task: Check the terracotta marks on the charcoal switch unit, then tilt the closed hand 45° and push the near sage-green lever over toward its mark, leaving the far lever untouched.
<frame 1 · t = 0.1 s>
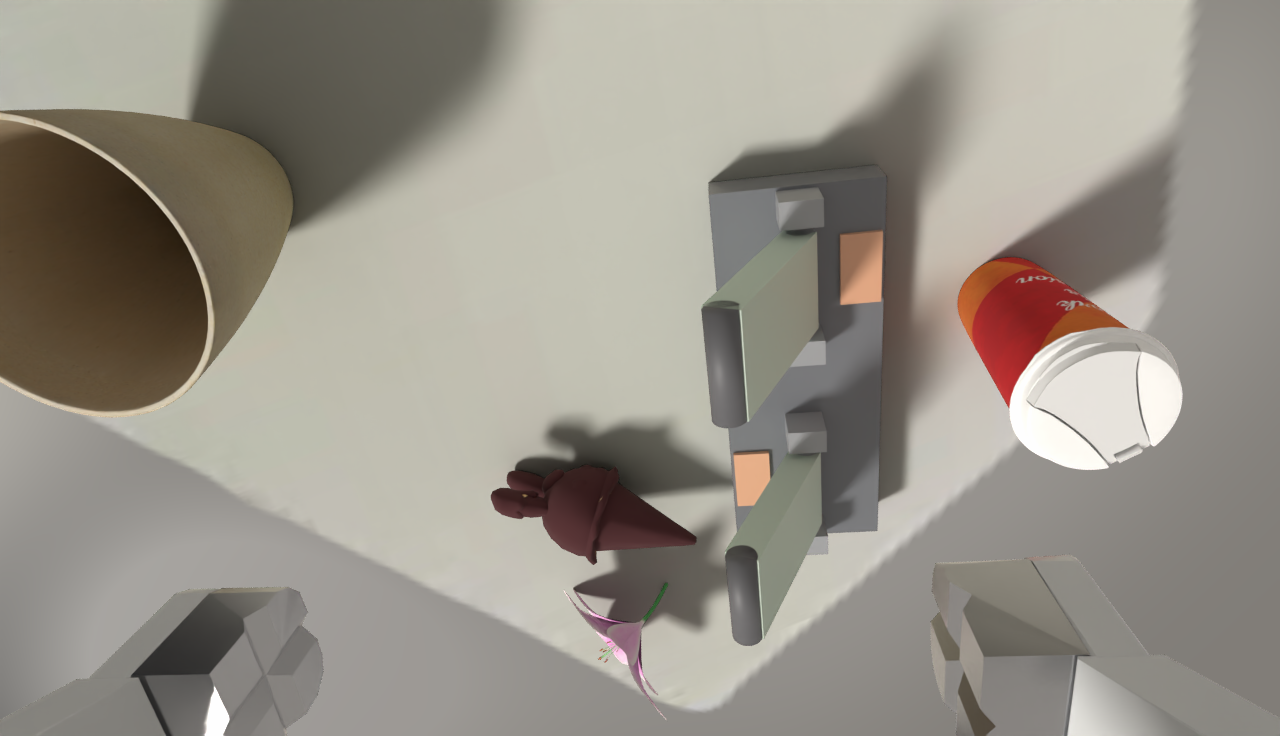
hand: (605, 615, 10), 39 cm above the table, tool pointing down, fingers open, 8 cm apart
lily: (623, 597, 63), on the table
switch unit: (797, 361, 51), on the table
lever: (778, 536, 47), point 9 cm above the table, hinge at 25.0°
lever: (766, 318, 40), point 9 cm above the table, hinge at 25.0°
paper cup: (1000, 295, 48), on the table
icecream: (601, 483, 57), on the table
plant pot: (243, 189, 48), on the table
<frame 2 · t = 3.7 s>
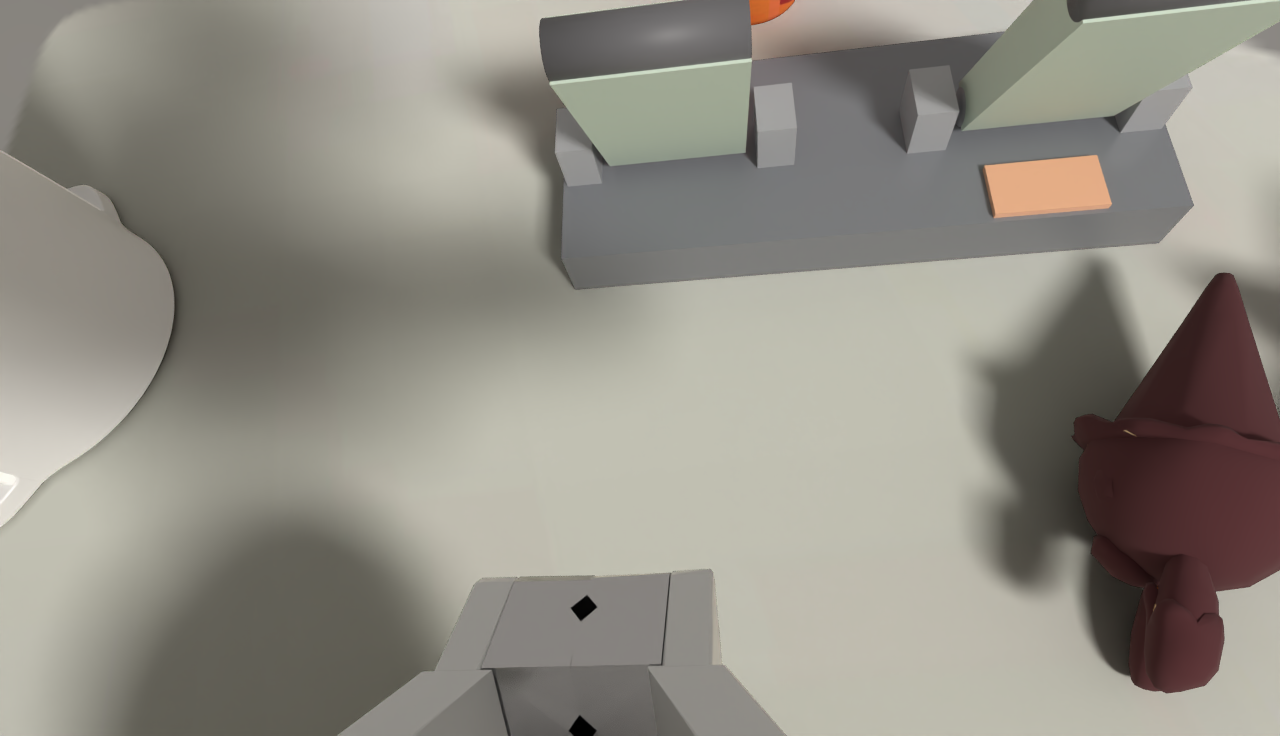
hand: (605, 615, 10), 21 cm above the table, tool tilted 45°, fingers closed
switch unit: (840, 176, 36), on the table
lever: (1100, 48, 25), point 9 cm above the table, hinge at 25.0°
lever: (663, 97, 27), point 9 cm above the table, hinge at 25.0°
icecream: (1141, 494, 29), on the table
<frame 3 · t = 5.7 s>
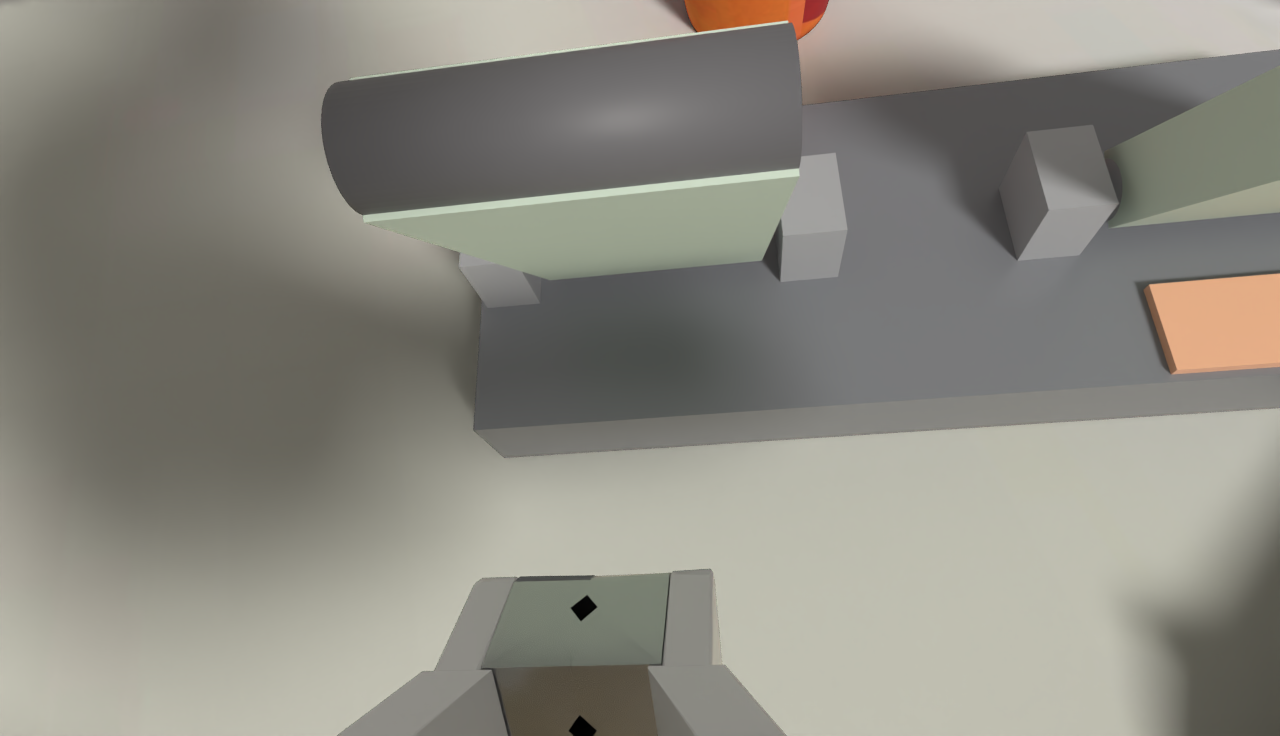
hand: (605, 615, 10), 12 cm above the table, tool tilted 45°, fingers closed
switch unit: (901, 280, 24), on the table
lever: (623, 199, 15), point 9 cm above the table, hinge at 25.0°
paper cup: (755, 3, 29), on the table
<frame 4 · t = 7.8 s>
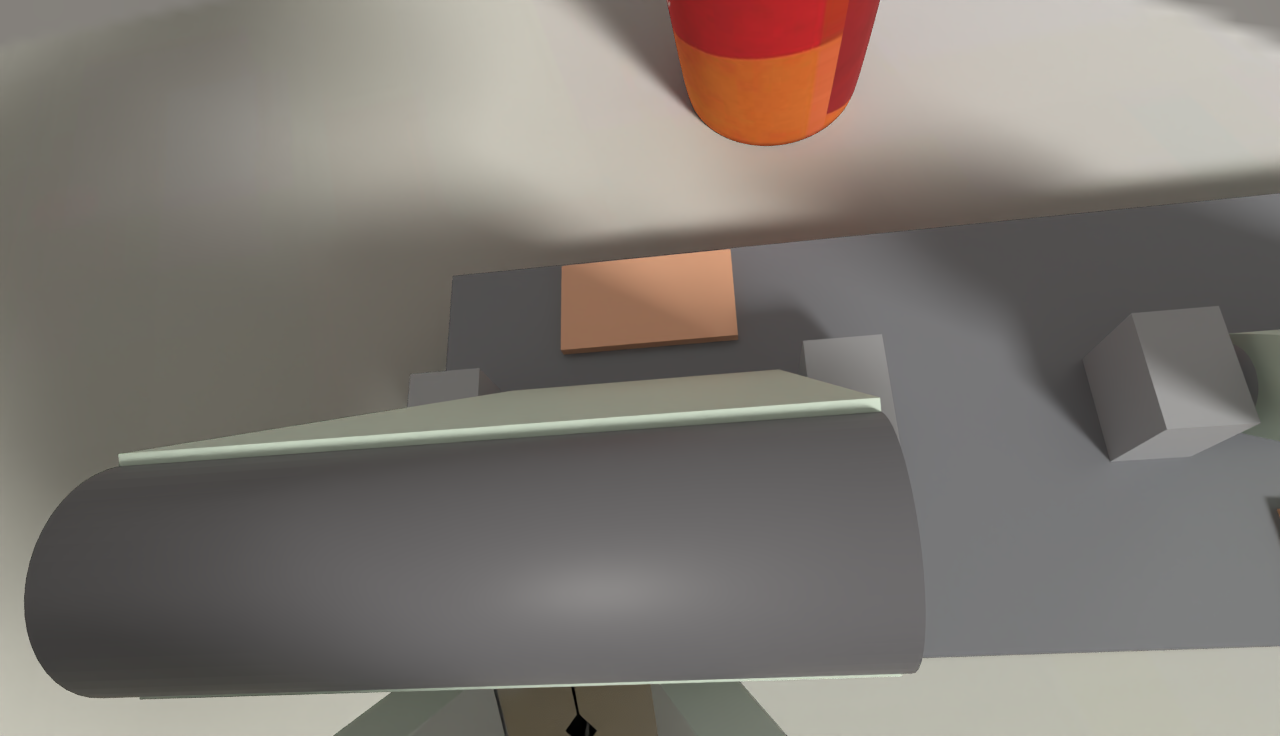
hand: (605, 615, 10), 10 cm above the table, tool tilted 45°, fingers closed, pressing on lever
switch unit: (952, 449, 19), on the table
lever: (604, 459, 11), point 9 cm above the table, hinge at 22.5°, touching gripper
paper cup: (768, 83, 25), on the table
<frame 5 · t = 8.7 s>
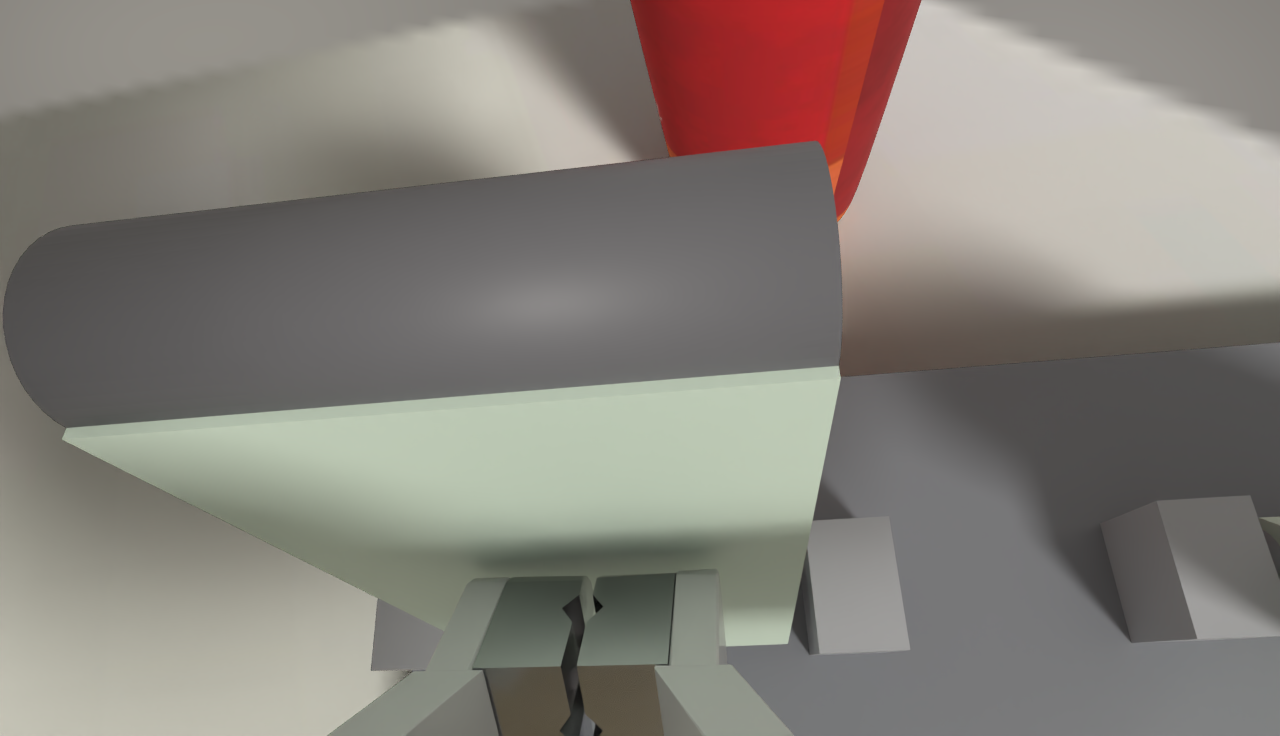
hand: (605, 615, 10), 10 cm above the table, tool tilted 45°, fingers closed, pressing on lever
switch unit: (960, 598, 18), on the table
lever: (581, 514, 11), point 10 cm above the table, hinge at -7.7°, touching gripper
paper cup: (764, 182, 24), on the table
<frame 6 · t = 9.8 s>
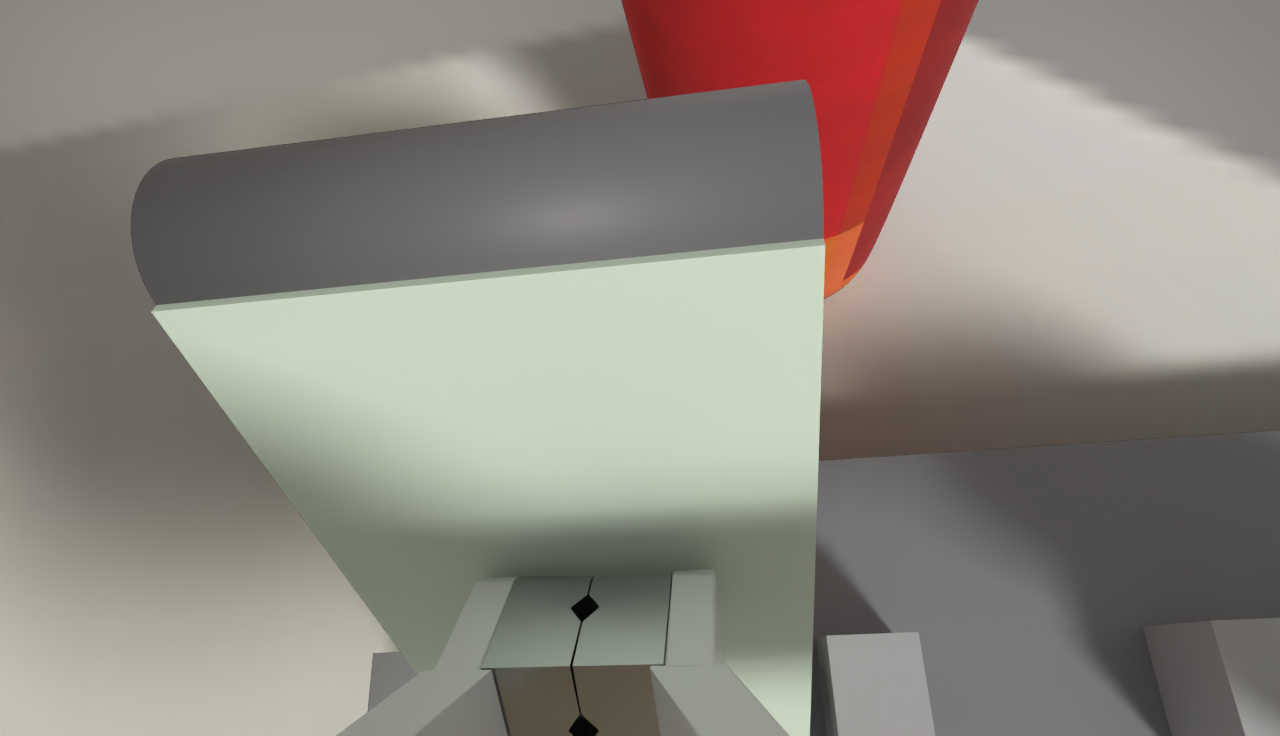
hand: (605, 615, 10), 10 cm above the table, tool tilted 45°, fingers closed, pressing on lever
switch unit: (988, 690, 17), on the table
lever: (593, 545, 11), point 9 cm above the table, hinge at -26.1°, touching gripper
paper cup: (777, 231, 23), on the table
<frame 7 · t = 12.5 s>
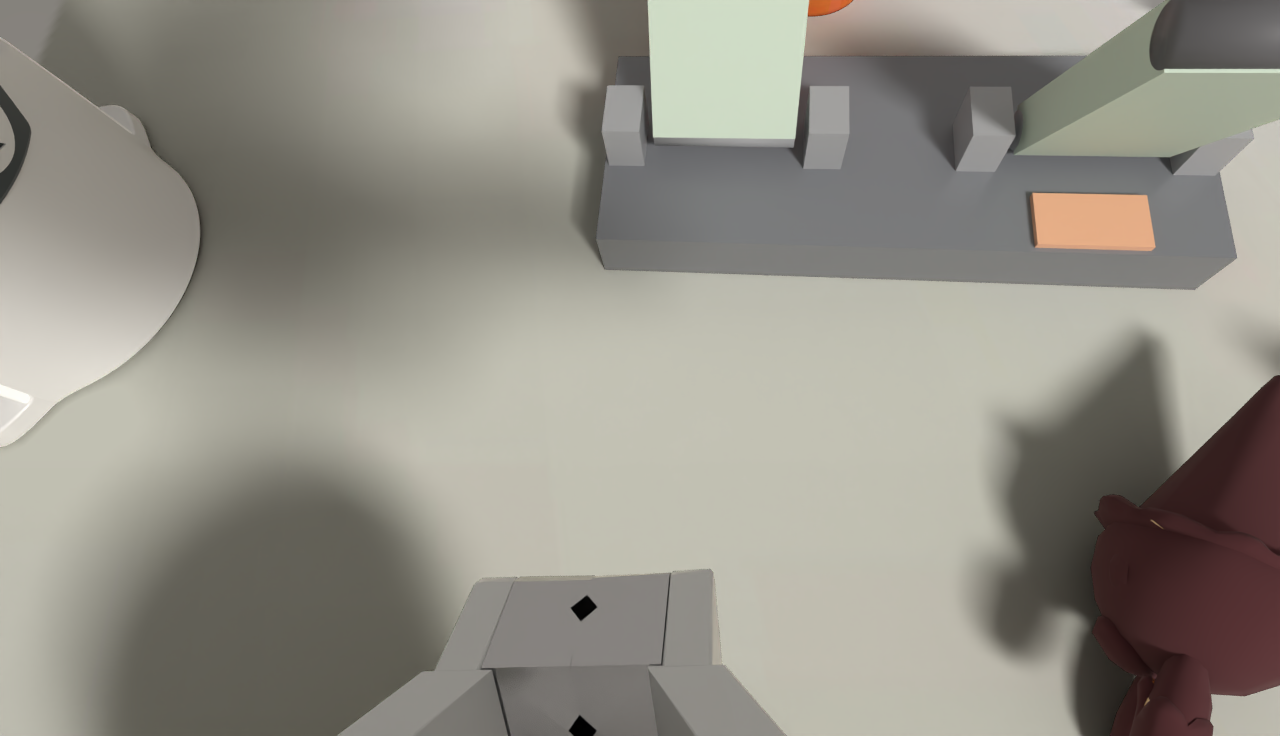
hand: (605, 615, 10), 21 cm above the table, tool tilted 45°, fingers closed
switch unit: (883, 184, 35), on the table
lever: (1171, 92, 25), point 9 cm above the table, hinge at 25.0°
icecream: (1152, 578, 28), on the table
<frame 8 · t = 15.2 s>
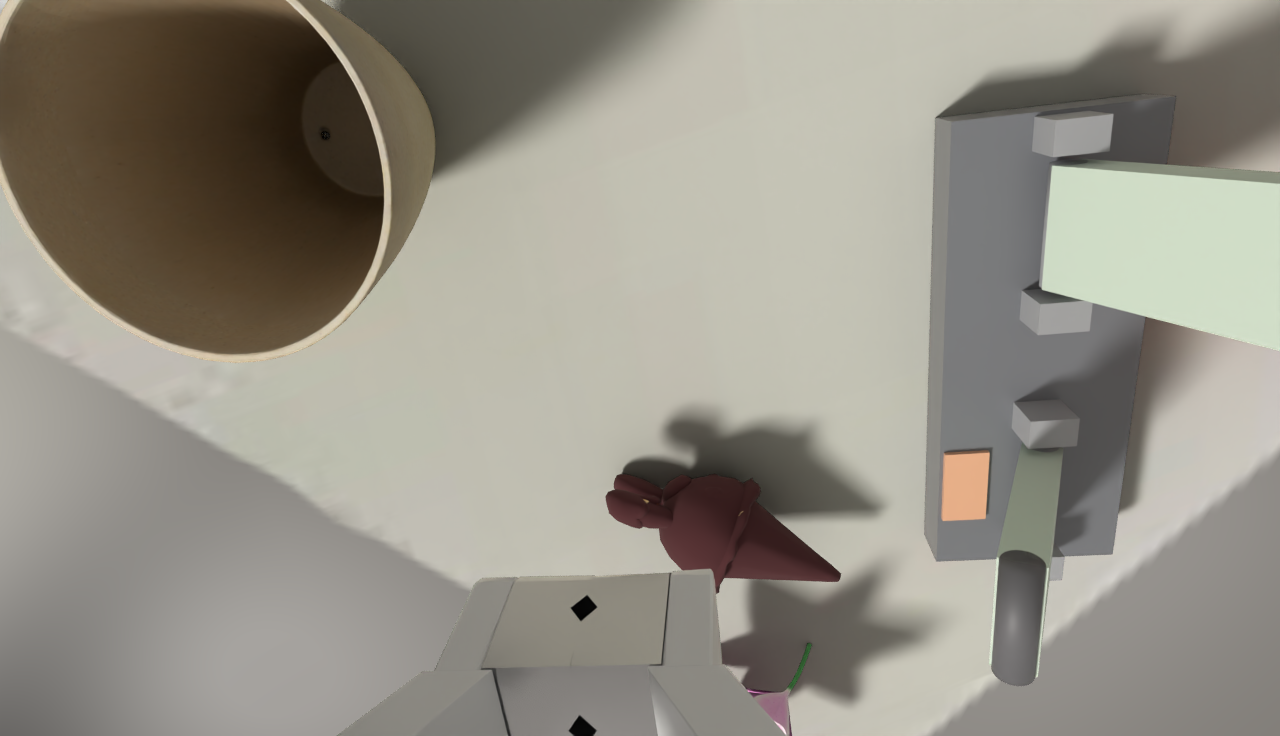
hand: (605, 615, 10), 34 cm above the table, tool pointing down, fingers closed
lily: (757, 664, 53), on the table
switch unit: (1020, 342, 42), on the table
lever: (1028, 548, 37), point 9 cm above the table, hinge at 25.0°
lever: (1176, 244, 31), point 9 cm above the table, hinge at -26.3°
icecream: (722, 500, 49), on the table
plant pot: (375, 130, 41), on the table
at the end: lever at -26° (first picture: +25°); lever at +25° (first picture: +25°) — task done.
